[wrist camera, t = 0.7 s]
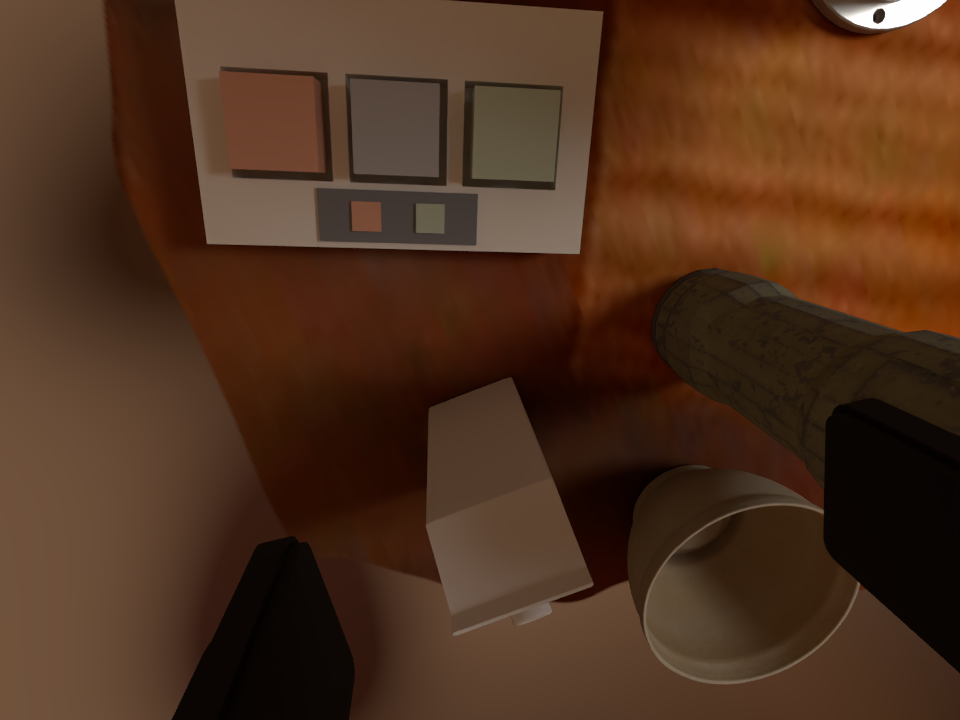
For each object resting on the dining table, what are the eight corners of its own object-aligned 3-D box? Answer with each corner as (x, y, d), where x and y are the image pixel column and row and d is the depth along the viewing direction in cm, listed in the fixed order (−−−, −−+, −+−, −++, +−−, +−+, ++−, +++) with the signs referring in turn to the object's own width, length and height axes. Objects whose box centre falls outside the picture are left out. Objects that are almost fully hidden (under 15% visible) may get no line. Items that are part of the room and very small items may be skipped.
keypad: (199, 2, 31) (168, -23, 27) (586, 28, 33) (605, 9, 30) (228, 238, 36) (204, 244, 32) (566, 247, 38) (580, 254, 34)
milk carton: (427, 406, 41) (423, 580, 23) (511, 375, 41) (571, 526, 23) (460, 477, 43) (478, 684, 26) (538, 448, 43) (613, 636, 25)
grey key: (356, 86, 31) (349, 78, 29) (439, 91, 31) (439, 83, 29) (359, 174, 33) (353, 173, 30) (438, 177, 33) (438, 177, 31)
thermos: (679, 234, 38) (2228, 563, 5) (793, 310, 41) (2275, 837, 8) (612, 334, 40) (1409, 1014, 7) (724, 400, 43) (1669, 1107, 10)
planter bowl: (662, 608, 50) (721, 717, 40) (560, 509, 45) (597, 605, 35) (800, 508, 48) (901, 598, 37) (708, 393, 43) (794, 459, 33)
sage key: (471, 92, 32) (475, 85, 29) (551, 97, 32) (560, 90, 30) (469, 178, 33) (472, 178, 31) (545, 181, 34) (553, 181, 31)
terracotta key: (235, 79, 30) (219, 70, 28) (322, 84, 31) (313, 76, 28) (245, 169, 32) (230, 168, 30) (327, 173, 32) (318, 172, 30)
